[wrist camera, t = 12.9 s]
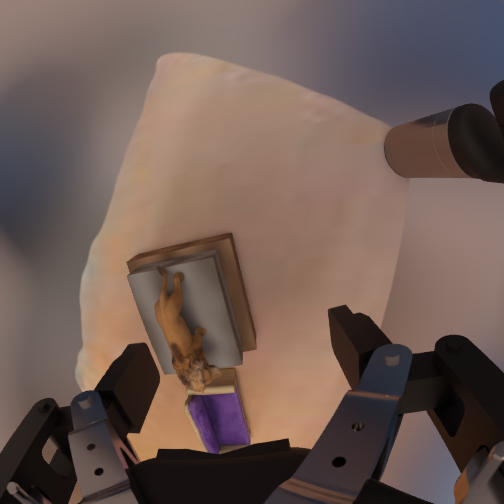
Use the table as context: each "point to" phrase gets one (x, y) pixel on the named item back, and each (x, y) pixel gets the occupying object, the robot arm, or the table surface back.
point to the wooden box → (197, 298)
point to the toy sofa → (218, 415)
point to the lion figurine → (183, 338)
